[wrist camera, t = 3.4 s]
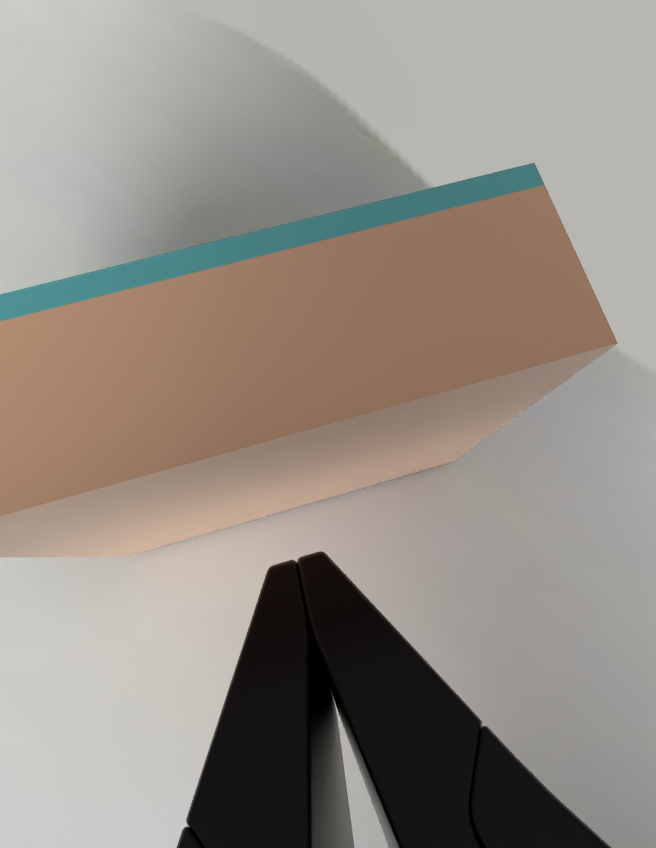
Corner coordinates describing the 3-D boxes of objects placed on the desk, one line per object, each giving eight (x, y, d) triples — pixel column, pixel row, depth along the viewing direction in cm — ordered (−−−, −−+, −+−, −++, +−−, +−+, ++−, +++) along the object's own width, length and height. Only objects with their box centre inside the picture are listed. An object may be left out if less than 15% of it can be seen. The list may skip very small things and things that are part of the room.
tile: (453, 461, 16) (617, 343, 7) (127, 556, 15) (-148, 557, 6) (421, 372, 16) (534, 162, 8) (108, 458, 16) (-162, 333, 7)
